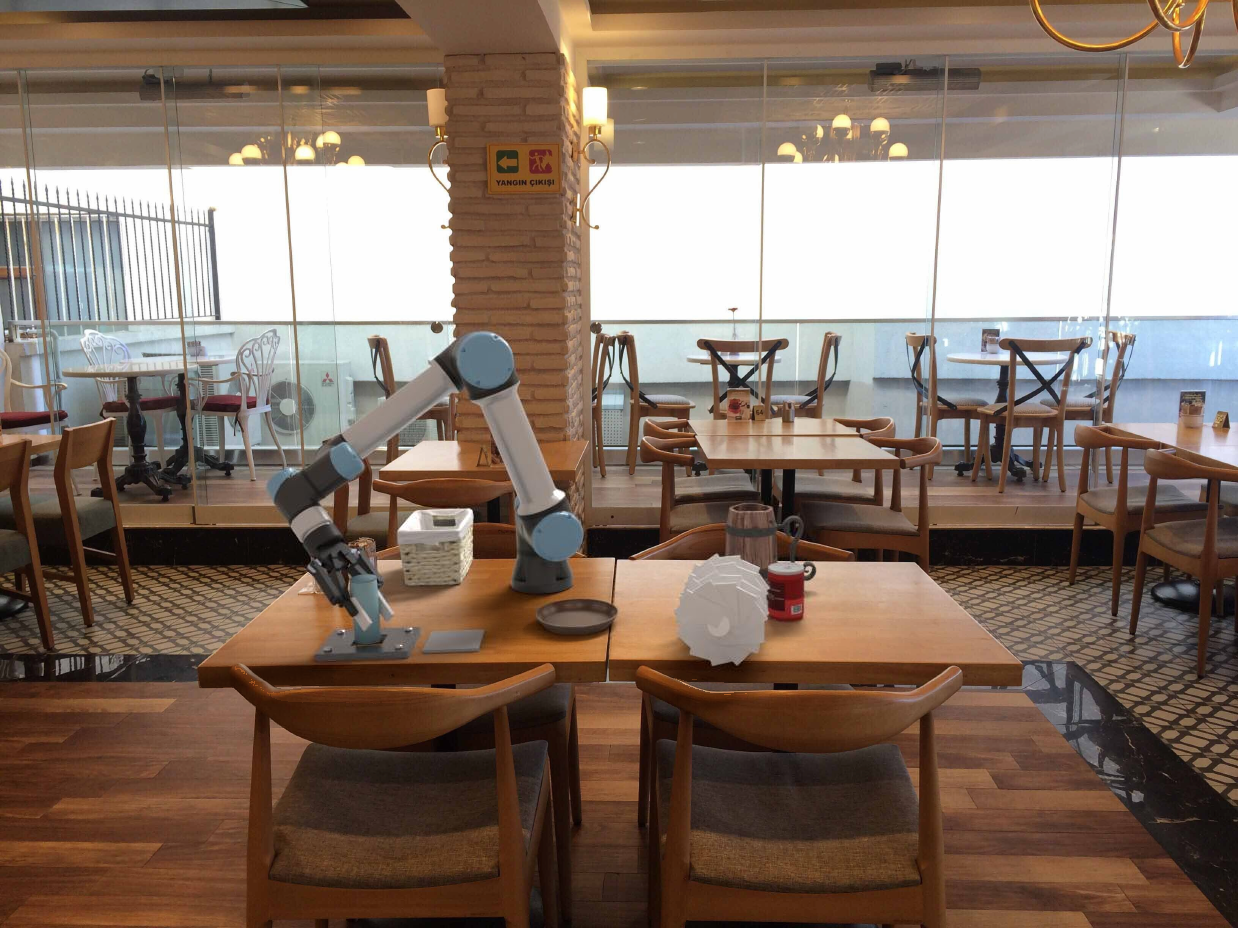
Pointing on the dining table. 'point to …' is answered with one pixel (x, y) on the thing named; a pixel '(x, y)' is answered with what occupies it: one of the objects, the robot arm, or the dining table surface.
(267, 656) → the dining table surface
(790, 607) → the canned food
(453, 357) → the robot arm
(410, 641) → the flange plate
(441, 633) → the pad
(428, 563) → the storage basket
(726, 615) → the spiral staircase
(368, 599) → the plug
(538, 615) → the plant saucer
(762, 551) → the tankard
